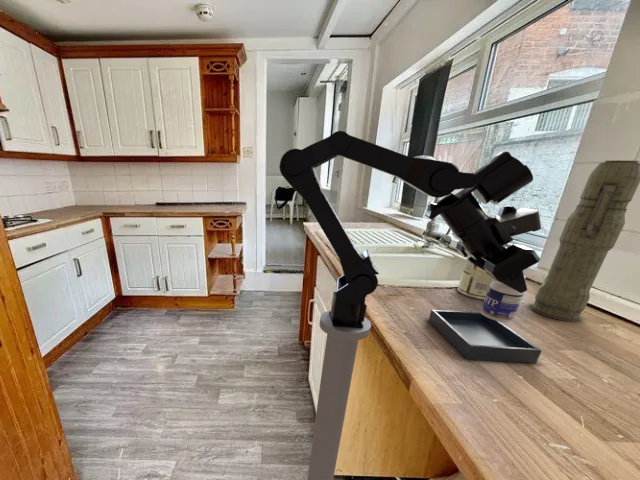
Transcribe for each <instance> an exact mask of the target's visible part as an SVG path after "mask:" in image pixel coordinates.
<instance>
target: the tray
mask: <svg viewBox="0 0 640 480" xmlns="http://www.w3.org/2000/svg"><path fill="white" fill-rule="evenodd" d="M428 322H429V323H430V324H431V325H432V326H433V327H434V328H435V329H436V331H438V332H439V333H440V334H441V335H442V336H443V337H444V338H445V339H446V340H447V341H448V342H449V343H450V344H451V345H452V346H453V347H454V348H455V349H456V350H457V351H458V352H459V353H460V354H461V355H462V356H463V357H464V358H465V359H466V360H474V361H487V362H489V361H490V362H505V363H523V364H537V362H538V359H539V358H540V356H541V353H542V351H543V350H542V349H540V348H539V347H538V346H536V345H535V344H534V343H532V342H530V341H529V340H527V339H526V338H525V337H523V336H522V335H520V334H519V333H518V332H515V331H514V330H513V329H511V328H510V327H509V326H507V325H506V324H504V322H500V321H496V320H492V319H490V318H487V317H485V316H484V315H482V314H481V311H479V312H478V311H464V310H463V311H462V310H461V311H460V310H446V309H445V310H443V309H431V310H430V313H429V317H428Z"/></svg>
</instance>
